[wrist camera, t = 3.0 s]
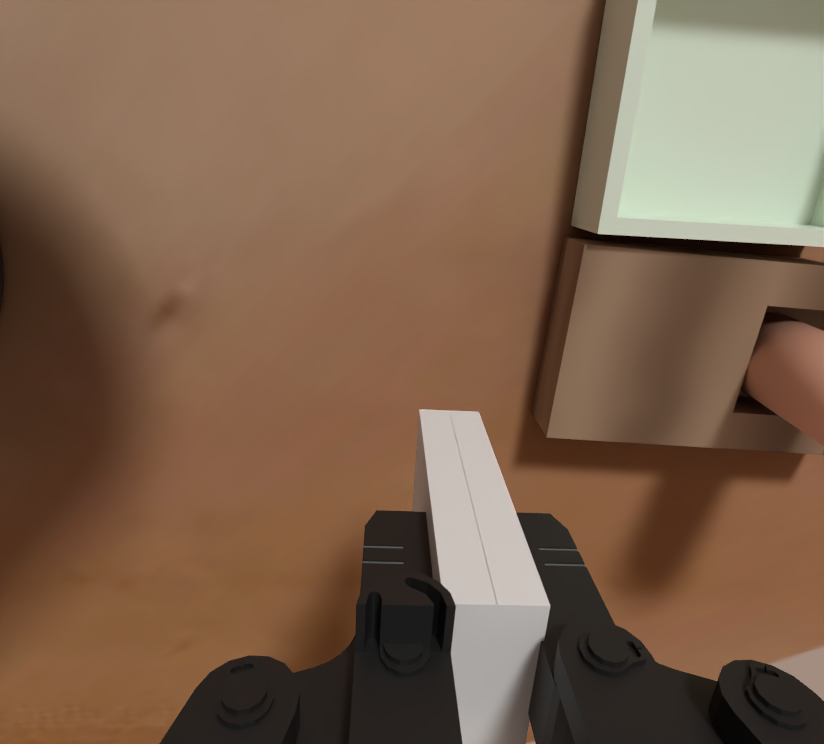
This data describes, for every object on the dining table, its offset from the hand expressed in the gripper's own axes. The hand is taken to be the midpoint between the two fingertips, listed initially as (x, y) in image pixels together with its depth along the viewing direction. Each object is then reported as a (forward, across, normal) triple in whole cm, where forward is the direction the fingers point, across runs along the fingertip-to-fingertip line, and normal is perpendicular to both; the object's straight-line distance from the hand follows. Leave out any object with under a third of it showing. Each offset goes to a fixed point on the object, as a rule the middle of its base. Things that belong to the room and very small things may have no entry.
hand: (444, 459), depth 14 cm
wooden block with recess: (+11, +12, 0) cm, 17 cm away
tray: (+10, +11, +10) cm, 18 cm away
